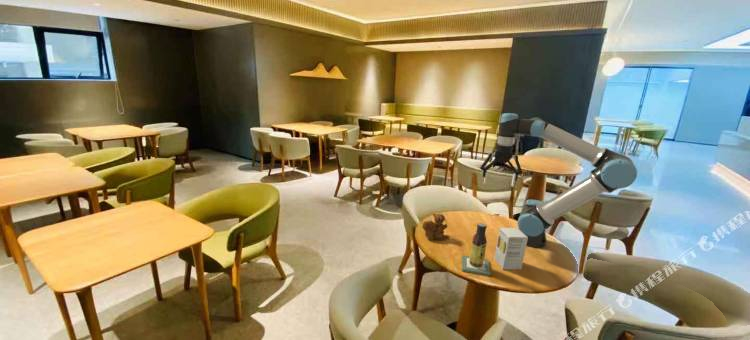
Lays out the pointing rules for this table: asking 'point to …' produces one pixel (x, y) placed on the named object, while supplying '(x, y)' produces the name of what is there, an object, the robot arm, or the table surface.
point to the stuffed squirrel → (435, 228)
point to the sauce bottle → (478, 246)
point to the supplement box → (510, 248)
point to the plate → (477, 270)
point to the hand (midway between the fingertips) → (498, 184)
